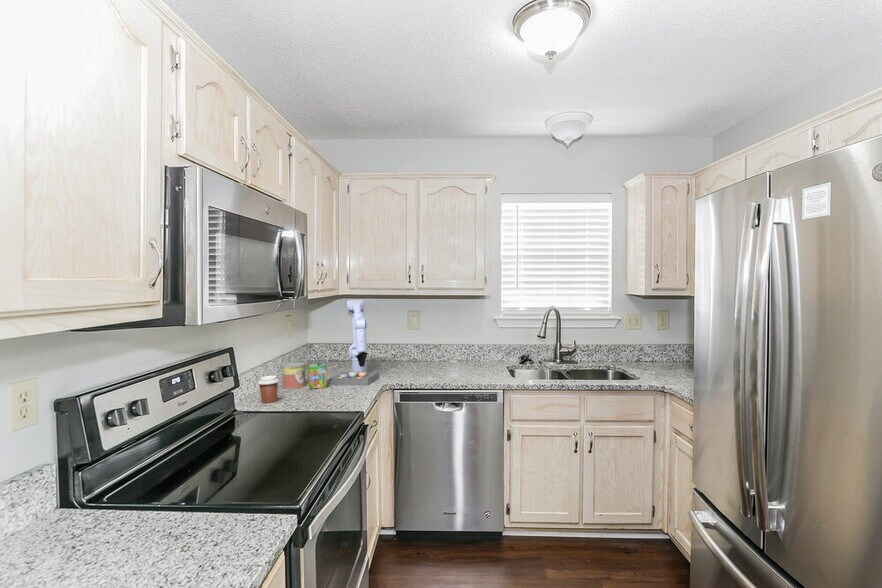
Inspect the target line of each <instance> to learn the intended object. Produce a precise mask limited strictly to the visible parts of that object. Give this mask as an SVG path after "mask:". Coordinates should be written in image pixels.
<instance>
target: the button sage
mask: <svg viewBox="0 0 882 588" xmlns="http://www.w3.org/2000/svg"><path fill="white" fill-rule="evenodd" d="M348 372H349V377H356V376H357V372H352V371H348Z"/></svg>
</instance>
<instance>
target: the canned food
mask: <svg viewBox="0 0 882 588" xmlns="http://www.w3.org/2000/svg"><path fill="white" fill-rule="evenodd" d="M305 365H306V364H305V362H301V361H300V362H289V363H284V364H282V365H281V366H282V380H283V382H282V383H283V385H282V386H283V389H284V388H285V389H284V390H298V389H297V388H299V389H303V388H305V387H306V386H307V385H306V368H305ZM304 386H305V387H304ZM302 387H303V388H302Z"/></svg>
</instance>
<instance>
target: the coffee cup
mask: <svg viewBox="0 0 882 588" xmlns="http://www.w3.org/2000/svg"><path fill="white" fill-rule="evenodd" d="M277 377H278V376H277V375H266V376H265V375H264V376H261V377H260V378H259V381H257V385H259V391H260V401H261V405H262V404H263V405H262V406H270V405H269V404H272V405H275V404H274V403H276V402H277V403H278V388H279V386H278V385H279V384H278V383H279V382H280V379H278V378H277ZM277 403H276V404H277Z"/></svg>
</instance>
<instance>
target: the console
mask: <svg viewBox="0 0 882 588" xmlns="http://www.w3.org/2000/svg"><path fill="white" fill-rule="evenodd" d="M349 372H350V371H341V372H340V373H338V374H335V375H333V376H330V377H329V379H328V384H329V385H331V386H332V385H334V386H335V385H337V386H338V385H339V386H340V385H341V386H342V385H343V386H369V385H370V384H373V383H374V382H376V381H377V380H379V378H380V373H379V372H376V371H367V372H366V377H359V372H357V376H356V377H349ZM340 374H347V377H340ZM329 385H328V386H329Z"/></svg>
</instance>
